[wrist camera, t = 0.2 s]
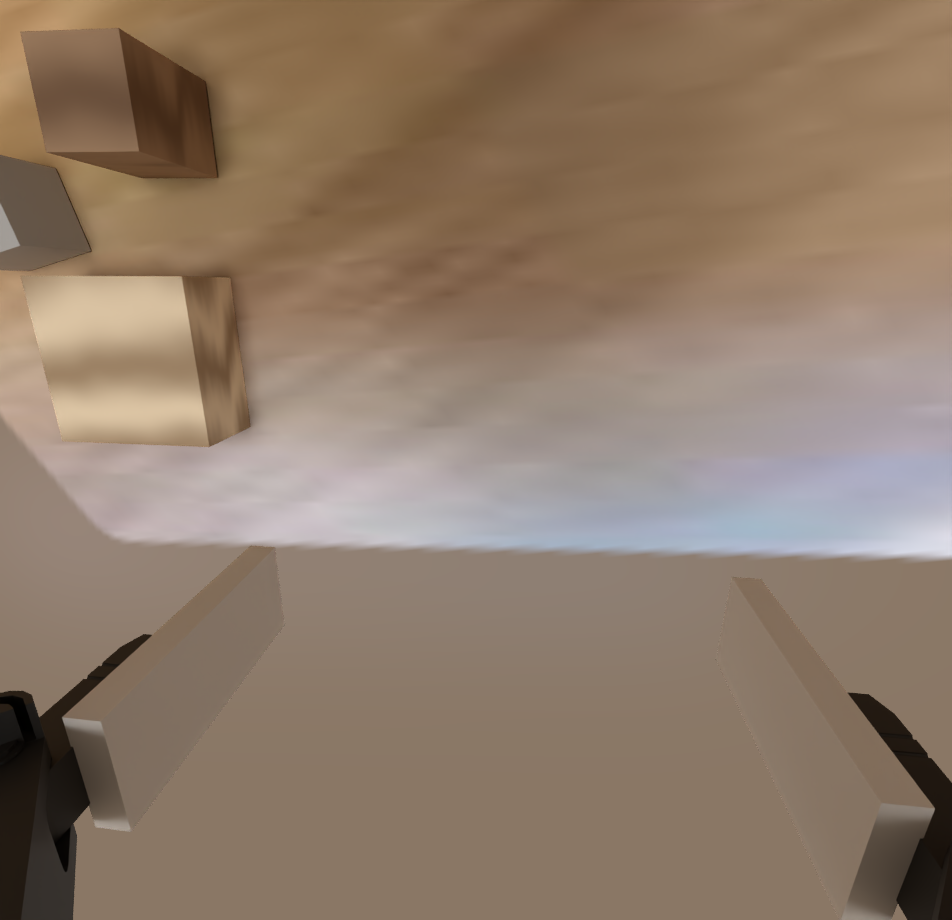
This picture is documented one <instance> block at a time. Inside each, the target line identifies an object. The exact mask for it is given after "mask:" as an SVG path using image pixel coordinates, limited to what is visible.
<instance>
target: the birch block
mask: <svg viewBox="0 0 952 920" xmlns="http://www.w3.org/2000/svg"><path fill="white" fill-rule="evenodd" d="M21 280H22V284H23V288H24V292H25V296H26V300H27V304H28V308H29V312H30V316H31V320H32V324H33V327H34V331H35V335H36V339H37V343H38V347H39V351H40V355H41V359H42V363H43V367H44V371H45V375H46V378H47V382H48V386H49V390H50V394H51V398H52V402H53V406H54V410H55V414H56V418H57V422H58V426H59V429H60V433H61V437H62V441H69V442H95V443H120V444H146V445H172V446H198V447H210V446H212V445H214V444H216V443H219V442H221V441H223V440H225V439H227V438H229V437H231V436H233V435H235V434H237V433H239V432H241V431H243V430H245V429H247V428H249V427H251V426H250V419H249V411H248V404H247V397H246V389H245V382H244V375H243V367H242V360H241V353H240V346H239V338H238V331H237V324H236V316H235V309H234V302H233V294H232V287H231V280H230V278H224V277H189V276H21Z"/></svg>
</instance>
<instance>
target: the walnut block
mask: <svg viewBox="0 0 952 920" xmlns="http://www.w3.org/2000/svg"><path fill="white" fill-rule="evenodd" d="M20 33H21V37H22V42H23V46H24V51H25V56H26V60H27V65H28V70H29V74H30V79H31V83H32V88H33V93H34V97H35V102H36V107H37V111H38V116H39V120H40V125H41V130H42V134H43V139H44V143H45V148H46V152H47V153H51V154H55V155H58V156H62V157H66V158H69V159H73V160H77V161H81V162H84V163H88V164H92V165H95V166H99V167H103V168H106V169H110V170H114V171H118V172H121V173H125V174H129V175H132V176H136V177H140V178H217V171H216V163H215V155H214V147H213V139H212V131H211V123H210V115H209V107H208V100H207V92H206V84H205V81H204V80H202V79H201V78H199V77H197V76H196V75H194V74H192V73H191V72H189V71H187V70H186V69H184V68H183V67H181V66H179V65H178V64H176V63H174V62H173V61H171V60H170V59H168V58H166V57H165V56H163V55H161V54H160V53H158V52H157V51H155V50H153V49H152V48H150V47H148V46H147V45H145V44H143V43H142V42H140V41H139V40H137V39H135V38H134V37H132V36H130V35H129V34H127V33H126V32H124V31H122V30H121V29H119V28H111V29H82V30H53V31H25V32H20Z"/></svg>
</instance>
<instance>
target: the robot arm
mask: <svg viewBox="0 0 952 920" xmlns="http://www.w3.org/2000/svg"><path fill="white" fill-rule="evenodd" d="M284 625H285V624H284V615H283V608H282V600H281V593H280V584H279V577H278V568H277V561H276V552H275V547H263V546H250V547H249V548H248V549H247V550H245V552H243V553H242V554H241V555H240V556H239V557H238V558H237V559H236V560H234V562H232V563H231V564H230V565H229V566H228V567H227V568H226V569H225V570H224V571H222V572H221V573H220V574H219V575H218V576H217V577H216V578H215V579H214V580H212V581H211V582H210V583H209V584H208V585H207V586H206V587H205V588H204V589H203V590H201V591H200V592H199V593H198V594H197V595H196V596H195V597H194V598H193V599H192V600H191V601H189V602H188V603H187V604H186V605H185V606H184V607H183V608H182V609H181V610H180V611H178V612H177V613H176V614H175V615H174V616H173V617H172V618H171V619H170V620H168V622H166V623H165V624H164V625H163V626H162V627H161V628H160V629H159V630H158V631H157V632H155V633H154V634H153V635H146V634H143V635H142V636H140V637H138V638H136V639H134V640H133V641H131V642H129V643H127V644H125V645H123V646H122V647H120V648H119V649H118V650H117V651H116V652H114V653H113V654H112V655H111V656H110V657H109V658H107V659H106V660H105V661H104V662H103V664H102V666H98V667H97V668H96V669H95V670H94V671H92V672H91V673H90V674H89V675H88V677H87V679H83V680H82V681H81V682H80V683H79V684H78V685H77V686H75V687H74V688H73V689H72V690H71V691H69V692H68V693H67V694H66V695H65V696H64V697H63V698H62V699H60V700H59V701H58V702H57V703H56V704H55V705H53V706H52V707H51V708H50V709H49V710H48V711H46V712H45V713H44V714H43V715H42V716H41V717H40V718H39V716H38V713H37V710H36V707H35V704H34V701H33V698H32V695H31V694H29V693H26V692H24V691H8V692H4V693H0V920H73V904H74V885H75V865H76V845H77V844H76V843H77V834H76V831H75V827H74V824H73V823H74V822H75V821H76V820H77V818H78V817H79V816H80V815H81V814H82V812H83V811H84V810H85V809H86V808H87V807H88V806H89V807H90V811H91V814H92V817H93V820H94V823H95V827H99V828H106V829H114V830H122V831H130V832H131V831H132V830H133V829H134V827H135V826H136V825H137V823H138V822H139V821H140V819H141V818H142V817H143V815H144V814H145V813H146V811H147V810H148V809H149V807H150V806H151V804H152V803H153V802H154V800H155V799H156V798H157V796H158V795H159V794H160V792H161V791H162V790H163V788H164V787H165V786H166V784H167V783H168V782H169V780H170V779H171V778H172V776H173V775H174V773H175V772H176V771H177V770H178V768H179V767H180V765H181V764H182V763H183V761H184V760H185V759H186V757H187V756H188V755H189V753H190V752H191V751H192V749H193V748H194V746H195V745H196V744H197V742H198V741H199V740H200V738H201V737H202V736H203V734H204V733H205V732H206V730H207V729H208V728H209V726H210V725H211V724H212V722H213V721H214V720H215V718H216V717H217V716H218V714H219V713H220V712H221V710H222V709H223V707H224V706H225V705H226V704H227V702H228V701H229V699H230V698H231V697H232V695H233V694H234V693H235V691H236V690H237V689H238V687H239V686H240V685H241V683H242V682H243V680H244V679H245V678H246V676H247V675H248V674H249V672H250V671H251V670H252V669H253V667H254V666H255V664H256V663H257V662H258V660H259V659H260V658H261V656H262V655H263V654H264V652H265V651H266V650H267V648H268V647H269V646H270V644H271V643H272V642H273V640H274V639H275V637H276V636H277V635H278V633H279V632H280V631H281V629H282V628H283V627H284ZM716 661H717V663H718V666H719V667H720V670H721V672H722V674H723V676H724V678H725V680H726V682H727V684H728V687H729V689H730V691H731V693H732V695H733V697H734V699H735V701H736V703H737V706H738V708H739V710H740V712H741V714H742V716H743V718H744V720H745V722H746V724H747V727H748V729H749V731H750V733H751V735H752V737H753V739H754V741H755V743H756V746H757V748H758V750H759V752H760V754H761V756H762V758H763V760H764V762H765V764H766V767H767V768H768V771H769V773H770V775H771V777H772V779H773V781H774V783H775V786H776V788H777V790H778V791H779V794H780V796H781V798H782V800H783V802H784V805H785V807H786V809H787V811H788V813H789V815H790V817H791V819H792V821H793V823H794V825H795V828H796V830H797V832H798V834H799V836H800V838H801V840H802V842H803V845H804V846H805V849H806V851H807V853H808V855H809V857H810V859H811V861H812V863H813V866H814V868H815V870H816V872H817V874H818V876H819V878H820V880H821V882H822V885H823V887H824V889H825V891H826V893H827V895H828V897H829V899H830V901H831V903H832V905H833V908H834V909H835V912H836V914H837V916H838V918H839V920H891V919H892V917H893V914H894V912H895V909H896V906H897V904H899V906H900V908H901V909H902V911H903V913H904V914H905V916H906V918H907V920H952V783H951V781H950V780H949V779H948V778H947V777H946V775H945V774H944V773H943V772H942V771H941V770H940V768H939V767H938V766H937V764H936V763H935V762H934V761H933V760H932V759H931V758H928V755H927V752H926V751H925V750H924V749H923V748H922V747H921V745H920V744H919V743H918V742H917V740H913V738H912V734H911V733H910V732H909V731H908V730H907V728H906V727H905V726H904V725H903V724H902V722H901V721H900V720H899V719H898V718H897V716H896V715H895V714H894V713H893V712H891V711H890V710H889V709H887V708H886V707H885V706H883V705H882V704H881V703H879V702H878V701H877V700H875V699H874V698H873V697H871V696H870V695H869V694H858V693H847V692H846V690H845V689H844V688H843V686H842V685H841V684H840V683H839V681H838V680H837V679H836V677H835V676H834V675H833V673H832V672H831V671H830V669H829V668H828V667H827V665H826V664H825V663H824V662H823V661H822V659H821V658H820V656H819V655H818V654H817V652H816V651H815V650H814V648H813V647H812V646H811V644H810V643H809V642H808V640H807V639H806V638H805V636H804V635H803V634H802V633H801V631H800V630H799V629H798V627H797V626H796V625H795V623H794V622H793V621H792V619H791V618H790V617H789V615H788V614H787V613H786V611H785V610H784V609H783V608H782V606H781V605H780V603H779V602H778V601H777V600H776V598H775V597H774V596H773V594H772V593H771V592H770V590H769V589H768V588H767V587H766V585H765V584H764V582H763V581H762V580H761V579H754V578H737V577H732V578H731V583H730V589H729V593H728V599H727V604H726V609H725V615H724V620H723V625H722V631H721V635H720V641H719V646H718V651H717V657H716Z"/></svg>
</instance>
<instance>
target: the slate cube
mask: <svg viewBox="0 0 952 920" xmlns="http://www.w3.org/2000/svg"><path fill="white" fill-rule="evenodd" d="M90 251H91V249H90V247H89V245H88V243H87V240H86V238H85V236H84V233H83V231H82V229H81V226H80V224H79V222H78V219H77V217H76V215H75V212H74V210H73V208H72V205H71V203H70V201H69V198H68V196H67V194H66V191H65V189H64V187H63V185H62V182H61V180H60V178H59V175H58V173H57V171H56V168H52V167H48V166H44V165H39V164H35V163H31V162H27V161H23V160H19V159H15V158H11V157H7V156H2V155H0V270H12V271H31V270H34V269H37V268H40V267H43V266H46V265H50V264H53V263H56V262H59V261H62V260H65V259H68V258H71V257H74V256H78V255H81V254H84V253H87V252H90Z"/></svg>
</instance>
